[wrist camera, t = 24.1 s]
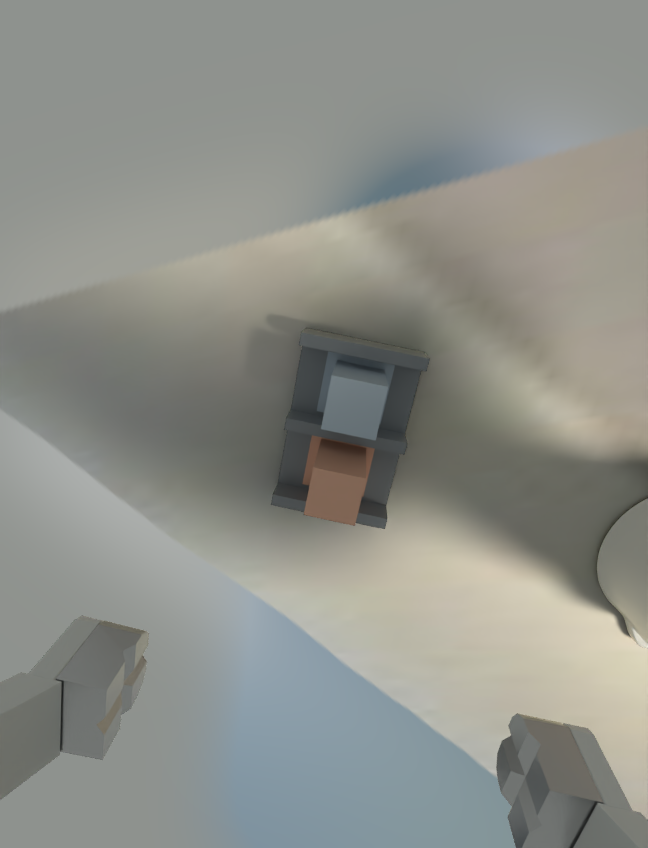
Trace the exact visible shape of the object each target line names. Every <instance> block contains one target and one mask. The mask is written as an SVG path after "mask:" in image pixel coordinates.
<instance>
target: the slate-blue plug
mask: <svg viewBox="0 0 648 848" xmlns="http://www.w3.org/2000/svg"><path fill="white" fill-rule="evenodd" d="M387 391H388V383H387V378H386V374H385V370H383V369H378V368H373V367H369V366H364V365H359V364H354V363H349V362H344V361H340V360H337V362H336V365H335V367H334V370H333V373H332V376H331V381H330V386H329V391H328V396H327V401H326V406H325V411H324V416H323V421H322V426H321V429H323V430H328V431H333V432H337V433H342V434H347V435H352V436H356V437H361V438H366V439H371V440H375V441H376V437H377V432H378V428H379V424H380V420H381V416H382V412H383V408H384V403H385V399H386V395H387Z"/></svg>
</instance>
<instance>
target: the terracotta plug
mask: <svg viewBox="0 0 648 848" xmlns="http://www.w3.org/2000/svg"><path fill="white" fill-rule="evenodd" d="M365 482H366V448H362V447H358V446H353V445H348V444H343V443H339V442H334V441H329V440H324V439H321V441H320V445H319V448H318V452H317V456H316V459H315V463H314V466H313V471H312V476H311V481H310V486H309V491H308V496H307V501H306V506H305V511H304V515H307V516H312V517H317V518H321V519H326V520H331V521H335V522H340V523H344V524H349V525H354V526H355V523H356V519H357V515H358V511H359V507H360V503H361V499H362V494H363V490H364V486H365Z"/></svg>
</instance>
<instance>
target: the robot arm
mask: <svg viewBox="0 0 648 848" xmlns="http://www.w3.org/2000/svg"><path fill="white" fill-rule="evenodd" d="M597 575H598V580H599V584H600V586H601V589H602V591H603V593H604V594H605V596H606V598H607V599H608V600H609V601H610V603H611V604H612V605H613V606H614V607H615V608H616V609H617V610H618V611H619V612H620V613H621V614H622V615H623V617H624V619H625V623H626V627H627V630H628V633H629V635H630V636H631V638H632V639H633V640H634V641H635V642H636V643H637V644H638V645H639V646H641V647H643V648H648V498H647V499H645V500H643V501H642V502H640V503H638V504H637V505H635V506H634V507H632V508H631V509H630V510H628V511H627V512H626V513H625V514H624V515H622V516H621V517H620V518H619V519H618V520H617V522H616V523H615V524H614V525H613V526H612V528H611V529H610V530H609V532H608V533H607V535H606V537H605V539H604V541H603V543H602V545H601V548H600V551H599V555H598V561H597ZM148 637H149V633H148V632H147V631H144V630H140V629H136V628H132V627H128V626H123V625H120V624H115V623H112V622H108V621H102V620H97V619H93V618H89V617H86V616H80V617H79V618H77V619H75V620H74V621H73V622H72V624H71V625H70V626H69V627H68V628H67V630H65V632H64V633H63V634H62V635H61V636H60V637H59V639H58V640H57V641H56V642H55V643H54V645H53V646H52V647H51V648H50V649H49V650H48V651H47V653H46V654H45V655H44V656H43V657H42V659H41V660H40V661H39V662H38V663H37V664H36V665H35V666H34V668H33V669H32V670H31V671H30V672H29V673H28V674H26V673H19V674H17V675H15V676H13V677H11V678H9V679H6V680H4V681H2V682H0V800H1V799H2V798H4V797H5V796H6V795H8V794H9V793H10V792H12V791H13V790H14V789H16V788H17V787H18V786H19V785H21V784H22V783H23V782H25V781H26V780H27V779H29V778H30V777H31V776H32V775H34V774H35V773H36V772H38V771H39V770H40V769H42V768H43V767H44V766H46V765H47V764H48V763H50V762H51V761H52V760H54V759H55V758H56V757H57V756H59V755H60V752H65V753H70V754H75V755H80V756H85V757H90V758H95V759H100V760H103V758H104V756H105V754H106V753H107V751H108V749H109V747H110V746H111V744H112V742H113V740H114V738H115V736H116V735H117V733H118V731H119V729H120V722H121V715H122V714H124V713H125V712H127V711H128V710H129V709H131V707H132V706H133V704H134V702H135V700H136V698H137V696H138V693H139V691H140V688H141V685H142V683H143V679H144V675H145V671H146V660H145V658H144V656H143V653H144V652H145V650H146V648H147V646H148V639H149V638H148ZM509 729H510V733H511V736H510V737H508V738H506V739H505V740H503V741H502V742H501V745H500V748H499V750H498V753H497V767H496V768H497V777H498V782H499V786H500V790H501V793H502V795H503V796H504V797H505V798H506V800H507V801H508V802H509V804H510V805H511V806H512V808H511V810H510V812H509V815H508V820H509V824H510V827H511V831H512V835H513V838H514V842H515V846H516V848H648V820H647V819H646V818H645V817H644V816H643V815H642V814H641V813H640V812H636V811H633V810H632V809H631V807H630V805H629V803H628V801H627V799H626V797H625V795H624V793H623V791H622V789H621V787H620V785H619V783H618V781H617V779H616V777H615V775H614V773H613V771H612V770H611V768H610V766H609V764H608V762H607V760H606V758H605V756H604V754H603V752H602V750H601V748H600V746H599V744H598V742H597V740H596V738H595V736H594V735H593V733H592V732H591V731H590V730H589V729H588V728H584V727H579V726H574V725H570V724H565V723H563V724H562V723H560V722H556V721H551V720H546V719H541V718H537V717H532V716H527V715H522V714H518V713H517V714H516V715H514V716H513V717H512V719H511V721H510V723H509Z"/></svg>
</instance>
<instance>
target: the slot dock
mask: <svg viewBox="0 0 648 848" xmlns="http://www.w3.org/2000/svg"><path fill="white" fill-rule="evenodd" d="M299 345H301V346H302V350H301V356H300V361H299V367H298V373H297V378H296V384H295V390H294V395H293V401H292V407H291V411H290V412H289V414H288V416H287V418H286V422H285V428H284V430H287V435H286V441H285V446H284V452H283V458H282V463H281V469H280V475H279V480H278V484H277V486H276V488H275V491H274V493H273V497H272V502H271V505H274V506H279V507H284V508H288V509H293V510H298V511H302V512H304V511H305V506H306V501H307V496H308V491H309V486H310V481H311V476H312V471H313V466H314V463H315V459H316V456H317V452H318V448H319V445H320V441H321V439H324V440H329V441H334V442H339V443H343V444H348V445H353V446H358V447H362V448H366V482H365V486H364V490H363V494H362V499H361V503H360V507H359V511H358V515H357V519H356V523H358V524H363V525H368V526H372V527H377V528H382V529H385V526H386V522H387V510H386V504H387V500H388V496H389V492H390V488H391V485H392V481H393V477H394V473H395V469H396V465H397V462H398V458H399V454H403V455H404V454H405V450H406V447H407V440H406V436H405V431H406V427H407V423H408V420H409V416H410V412H411V408H412V404H413V400H414V397H415V393H416V389H417V385H418V381H419V377H420V374H421V370H422V371H427V367H428V364H429V360H430V358H429V357H428V356H427V355H426V354H425V352H422V351H417V350H412V349H407V348H402V347H398V346H393V345H388V344H383V343H378V342H373V341H368V340H363V339H359V338H354V337H349V336H344V335H339V334H334V333H329V332H324V331H319V330H315V329H310V328H306V329H305V330H303V331H302V332H301V336H300V342H299ZM337 360H340V361H344V362H349V363H354V364H359V365H364V366H369V367H373V368H378V369H383V370H385V374H386V378H387V383H388V391H387V395H386V399H385V403H384V408H383V412H382V416H381V420H380V424H379V428H378V432H377V437H376V441H375V440H371V439H366V438H361V437H356V436H352V435H347V434H342V433H337V432H333V431H328V430H323V429H321V426H322V421H323V416H324V411H325V406H326V401H327V396H328V391H329V386H330V381H331V376H332V373H333V370H334V367H335V365H336V362H337Z"/></svg>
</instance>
